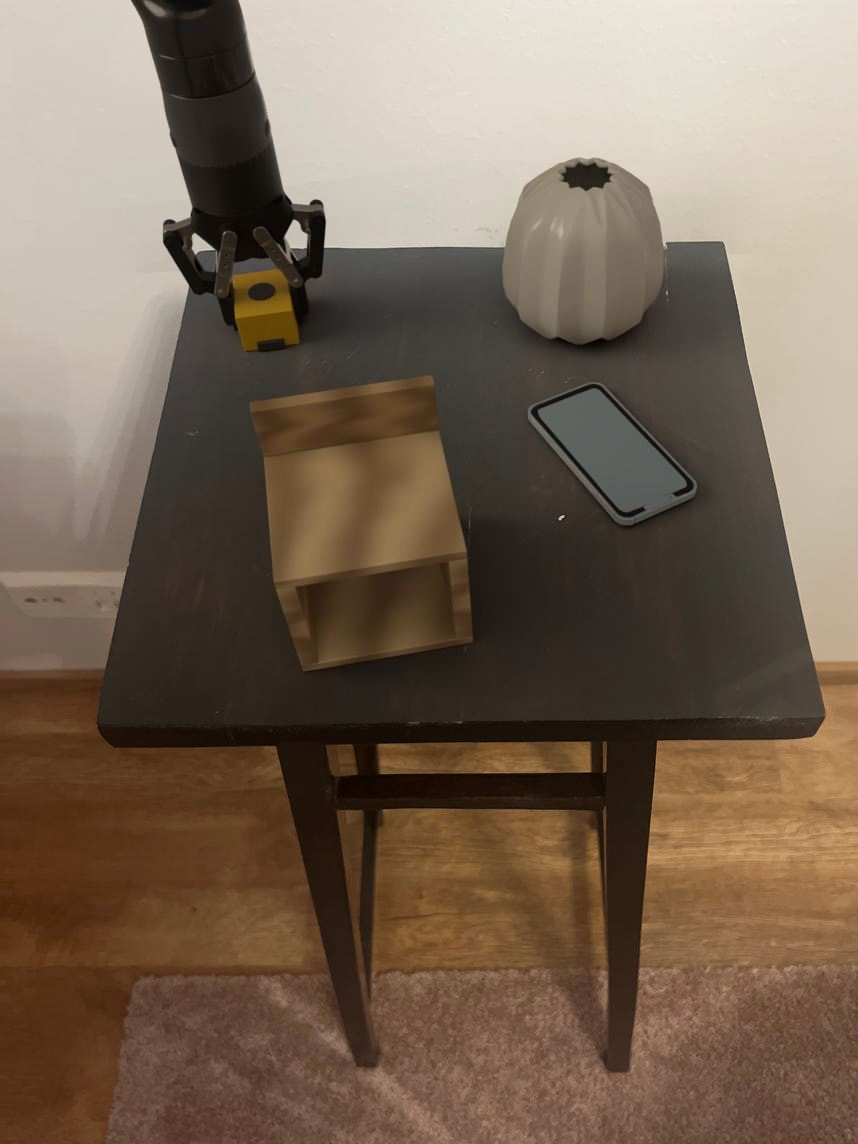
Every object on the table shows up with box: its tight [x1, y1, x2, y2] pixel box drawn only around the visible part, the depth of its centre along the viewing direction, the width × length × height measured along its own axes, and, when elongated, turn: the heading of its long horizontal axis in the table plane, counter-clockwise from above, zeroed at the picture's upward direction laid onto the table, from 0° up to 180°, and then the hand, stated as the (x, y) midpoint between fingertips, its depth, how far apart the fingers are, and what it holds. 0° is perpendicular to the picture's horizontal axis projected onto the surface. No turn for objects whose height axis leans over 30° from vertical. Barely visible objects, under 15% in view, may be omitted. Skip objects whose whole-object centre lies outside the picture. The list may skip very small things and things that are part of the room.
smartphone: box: [527, 381, 698, 526], centre depth 78 cm, size 7×1×15 cm
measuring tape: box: [232, 268, 301, 352], centre depth 88 cm, size 5×7×4 cm
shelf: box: [249, 374, 474, 673], centre depth 66 cm, size 12×12×14 cm
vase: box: [501, 157, 665, 346], centre depth 84 cm, size 14×14×13 cm
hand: (268, 320), depth 89 cm, fingers closed on measuring tape, 5 cm apart
